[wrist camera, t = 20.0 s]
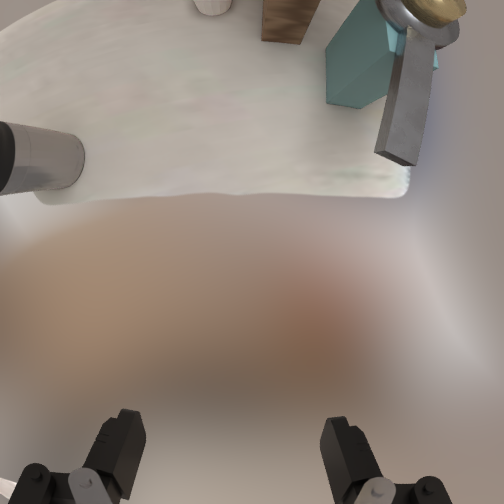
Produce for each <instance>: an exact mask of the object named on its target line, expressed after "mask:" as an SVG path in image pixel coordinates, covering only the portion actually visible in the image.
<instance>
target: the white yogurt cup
mask: <svg viewBox="0 0 504 504" xmlns="http://www.w3.org/2000/svg"><path fill="white" fill-rule="evenodd" d="M194 2H195V4H196V6H197V8H198V10H199V11H200V12H201V13H202V14H205V15H210V16H215V15H220V14H222V13H224V12H226V11H227V10H228V9H229V8H230V6H231V2H232V0H194Z"/></svg>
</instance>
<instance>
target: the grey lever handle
mask: <svg viewBox="0 0 504 504" xmlns="http://www.w3.org/2000/svg"><path fill="white" fill-rule="evenodd" d="M375 4H376V6H377V8H378V10H379V12H380V14H381V15H382V17H383V18H384V19H385V20H386V22H387V23H388V24H389V25H390V26H391V27H392V28H393V29H394V30H395V31H396V32H397V33H398V37H397V43H396V50H395V56H394V62H393V68H392V73H391V79H390V84H389V89H388V94H387V99H386V103H385V108H384V112H383V117H382V121H381V125H380V130H379V134H378V138H377V142H376V146H375V150H374V153H376V154H378V155H381V156H383V157H385V158H387V159H389V160H391V161H394V162H396V163H398V164H400V165H402V166H416V164H417V160H418V156H419V152H420V147H421V142H422V138H423V133H424V127H425V121H426V115H427V110H428V104H429V98H430V91H431V82H432V74H433V65H434V54H435V50H439V49H442V48H443V47H446V46H447V45H449V44H451V43H453V42H455V41H456V40H457V38H458V36H459V30H460V29H459V23H458V20H457V19H458V18H459V17H461V16H463V15H464V14H465V13H466V4H465V2H464V0H375Z"/></svg>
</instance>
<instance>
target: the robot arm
mask: <svg viewBox="0 0 504 504" xmlns="http://www.w3.org/2000/svg"><path fill="white" fill-rule="evenodd" d="M83 165H84V150H83V146H82V144H81V142H80V141H79V139H78V138H76V137H75V136H73V135H71V134H66V133H62V132H57V131H52V130H47V129H42V128H37V127H31V126H26V125H20V124H13V123H7V122H1V121H0V196H2V195H8V194H15V193H23V192H30V191H39V190H48V189H58V188H65V187H68V186H70V185H71V184H73V183H74V182H75V181H76V180H77V178H78V177H79V175H80V173H81V171H82V168H83ZM145 443H146V433H145V429H144V426H143V423H142V419H141V415H140V412H138V411H133V410H128V409H122V410H121V411H120V413H119V415H118V418H117V419H116V418H112V417H111V418H109V419H108V420H107V421H106V422H105V423H104V424H103V425H102V427H101V429H100V431H99V434H98V435H97V437H96V441H95V442H94V444H93V446H92V448H91V450H90V452H89V454H88V457H87V459H86V461H85V463H84V465H83V466H82V468H78V469H75V470H73V471H72V472H71V473H55V472H50V471H49V470H48V469H47V468H46V467H45V466H44V465H42V464H39V463H33V464H30V465H28V466H26V467H25V468H24V470H23V472H22V474H21V476H20V478H19V481H18V483H17V485H16V487H15V489H14V491H13V493H12V496H11V498H10V500H9V503H8V504H119V502H120V499H121V498H123V499H126V500H129V498H130V494H131V491H132V487H133V484H134V480H135V477H136V473H137V470H138V467H139V463H140V460H141V457H142V454H143V450H144V447H145ZM320 450H321V454H322V458H323V461H324V465H325V469H326V472H327V476H328V480H329V484H330V487H331V491H332V494H333V498H334V502H335V504H452V502H451V500H450V498H449V495H448V493H447V491H446V489H445V487H444V485H443V483H442V482H441V480H440V479H438V478H436V477H433V476H426V477H423V478H421V479H419V480H418V481H417V483H416V484H395V483H393V482H392V481H391V480H389V479H387V478H384V477H383V475H382V473H381V471H380V469H379V466H378V464H377V462H376V459H375V457H374V455H373V452H372V450H371V448H370V446H369V444H368V441H367V439H366V437H365V435H364V433H363V432H362V431H361V430H360V429H359V428H358V427H357V426H349V424H348V421H347V419H346V417H344V416H341V417H332V418H327V420H326V423H325V426H324V429H323V432H322V436H321V439H320Z"/></svg>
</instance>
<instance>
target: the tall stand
mask: <svg viewBox="0 0 504 504" xmlns="http://www.w3.org/2000/svg"><path fill="white" fill-rule="evenodd" d="M320 1H321V0H263V18H262V40H261V41H269V42H281V43H290V44H299V45H300V43H301V41H302V39H303V37H304V35H305V32H306V30H307V28H308V26H309V24H310V22H311V19H312V17H313V15H314V13H315V11H316V9H317V7H318V5H319V3H320Z"/></svg>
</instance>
